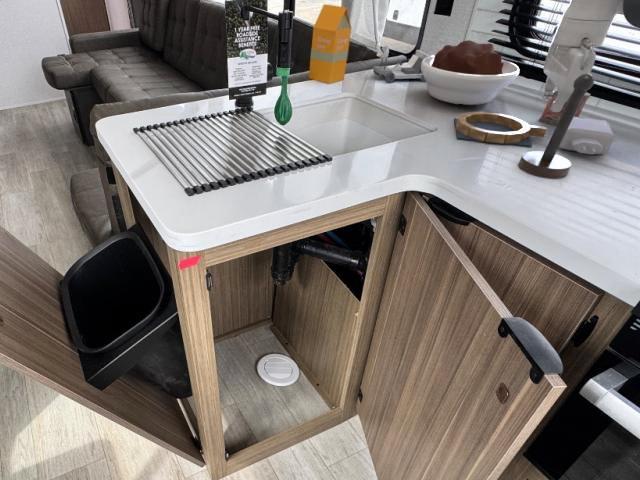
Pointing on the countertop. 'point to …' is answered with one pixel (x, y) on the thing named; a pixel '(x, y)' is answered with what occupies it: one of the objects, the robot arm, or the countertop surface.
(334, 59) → the orange juice
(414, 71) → the toy car
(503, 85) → the white bowl of dough
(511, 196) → the countertop surface
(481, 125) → the mat
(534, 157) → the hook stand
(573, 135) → the charger
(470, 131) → the ring
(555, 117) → the lighter
